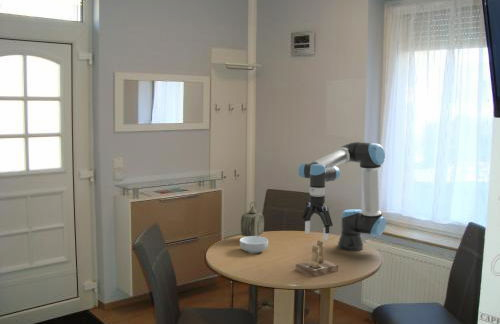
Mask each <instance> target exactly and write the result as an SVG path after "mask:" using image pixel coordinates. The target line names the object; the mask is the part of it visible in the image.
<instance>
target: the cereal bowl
mask: <svg viewBox="0 0 500 324" xmlns="http://www.w3.org/2000/svg"><path fill="white" fill-rule="evenodd" d="M239 246H240V248H241V249H242V250H243V251H245V252H247V253H248V254H249V253H250V254H259V253H261V252H263V251H265V250H266V249H268V246H269V239H268V237H267V238H266V237H265V236H261V235H259V236H247V237H246V236H243V237H241V238H240V239H239Z"/></svg>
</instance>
